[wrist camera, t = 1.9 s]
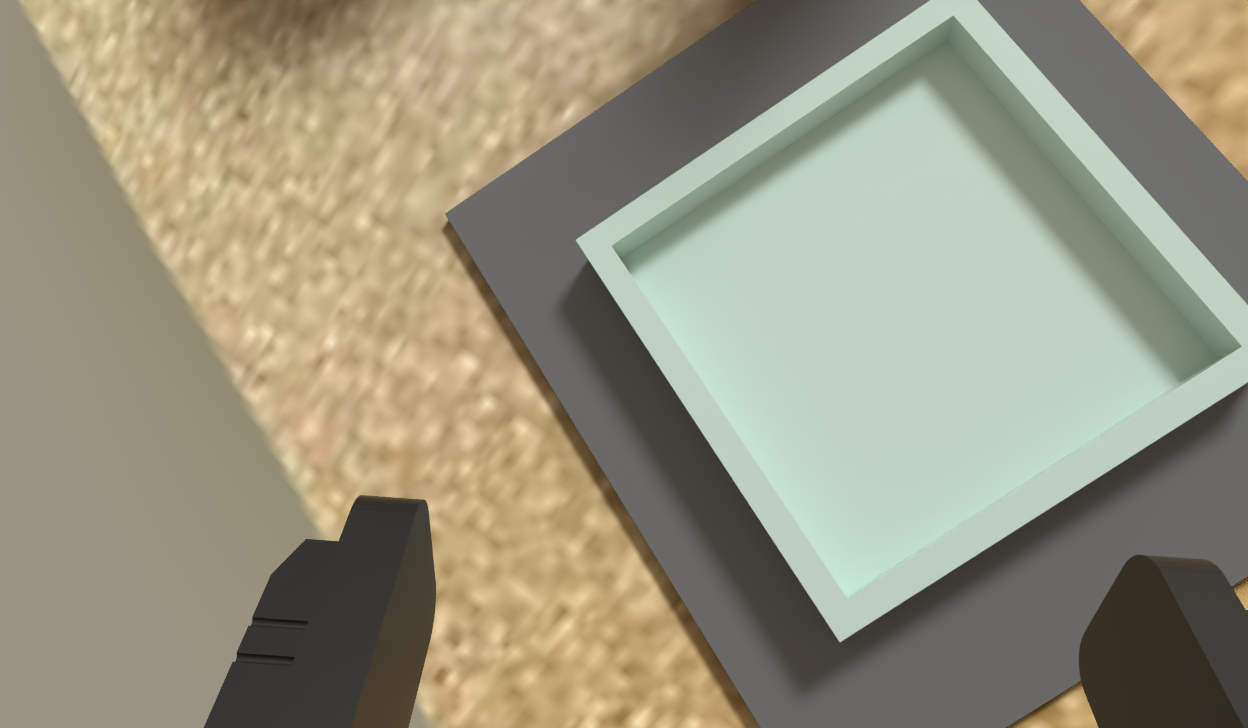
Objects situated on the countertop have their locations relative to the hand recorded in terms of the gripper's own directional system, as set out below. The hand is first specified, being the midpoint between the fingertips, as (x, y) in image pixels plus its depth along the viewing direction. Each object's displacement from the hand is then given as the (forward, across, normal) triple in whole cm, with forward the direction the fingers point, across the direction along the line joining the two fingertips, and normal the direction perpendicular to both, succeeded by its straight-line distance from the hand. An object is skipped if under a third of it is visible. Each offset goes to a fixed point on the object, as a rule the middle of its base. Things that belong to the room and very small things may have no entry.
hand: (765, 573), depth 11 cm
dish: (+16, -6, +6) cm, 18 cm away
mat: (+16, -6, +7) cm, 19 cm away
